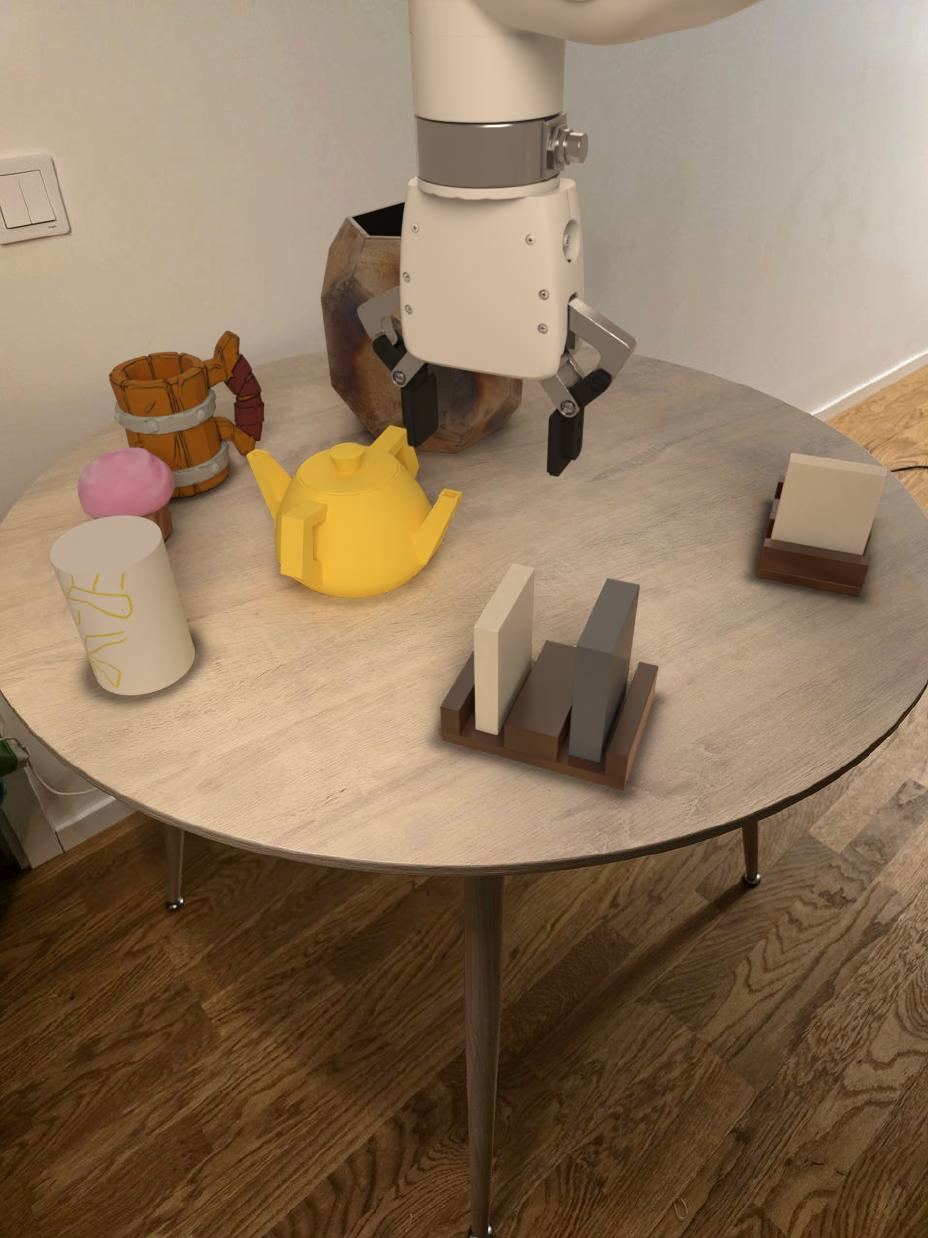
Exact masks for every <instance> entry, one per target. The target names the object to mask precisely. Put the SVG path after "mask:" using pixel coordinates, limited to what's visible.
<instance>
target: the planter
mask: <svg viewBox="0 0 928 1238" xmlns="http://www.w3.org/2000/svg"><path fill="white" fill-rule="evenodd" d="M404 206H405V201H398V202H394V203H392V204H388V205H385V206H381V207H377V208H374V209H371V210H367V211H364V212H360V213H357V214H354V215H350V216H346V217H345V218H344V220H343V222H342V223H341V226H340V227H339V229H338V231H337V233H336V235H335V237H334V238H333V240H332V242H331V244H330V245H329V248H328V251H327V259H326V264H325V269H324V276H323V280H322V281H323V282H322V287H321V293H320V306H321V313H322V321H323V329H324V338H325V346H326V353H327V360H328V370H329V377H330V386H331V387H332V389H333V390H334V391H335V392H336V393H337V395H338V396H339V397H340V398H341V400H342V401H343V402H344V404H346V405H347V407H348V408H349V409H350V410H351V412H352V413H353V414H354V415H355V417H357V419H358V420H359V421H360V423H361V424H362V425H363V426H364V427H365V429H366V430H367V431H368V432H369V433H370V434H371V436H373V438H374V439H375V441H376V440H377V438H378V437H379V436H380V435H381V434H382V433H383V432H384V431H385V430H386V429H387V428H388V427H389V425H392V426H396V427H400V428H404V429H406V427H405V426H404V424H403V417H402V403H401V390H400V387H398V386H396V385H395V384H394V383H393V381H392V379H391V371H390V370H389V369H388V367H387V366H386V365H385V364H384V363H383V362H382V360H381V359H380V358H379V357H378V356H377V355H376V353H375V352H374V350H373V347H372V344H373V341H372V339H371V338H369V336H368V334H367V332H366V330H365V328H364V326H363V324H362V322H361V320H360V318H359V316H358V313H357V309H358V307H359V306H360V305H362V304H363V303H365V302H367V301H368V300H370V299H372V298H374V297H376V296H378V295H380V294H382V293H384V292H386V291H388V290H390V289H392V288H394V287H396V286H398V285H400V248H401V234H402V223H403V214H404ZM390 319H391V322H392V324H393V326H392V327H393V329H394V330H396V331H397V332H398V333H399V334H400V335H401V336H402V337H403V334H402V326H401V313H400V310H398V311H396V312H394V313H392V314H391V315H390ZM428 371H433V372H435V376H436V378H437V398H438V420H439V427H438V430H437V431H436V432H435V433H433V434H432V435H431V436H430V437H429V438H428V439H427V440H426V441H425V442H424V443H422V444H421V445H420V446H418V447H413V448H414V451H419V452H433V453H447V454H457V453H459V452H461V451H463V450H464V449H466V448H468V447H469V446H471V445H474V444H475V443H477V442H478V441H480V440H482V439H484V438H485V437H487V436H490V435H492V434H493V433H494V432H496V431H498V430H500V429H501V428H503V427H504V426H505V425H506V423H507V422H508V421H509V419H510V418H512V416H513V415H514V413H515V412H516V411H517V409H518V408H519V407H520V406H521V404H522V397H523V385H524V379H517V378H510V377H504V376H498V375H492V374H486V373H480V372H474V371H468V370H462V369H457V368H451V367H445V366H440V365H435V364H430V365H429V367H428Z"/></svg>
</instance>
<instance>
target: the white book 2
mask: <svg viewBox="0 0 928 1238" xmlns="http://www.w3.org/2000/svg"><path fill="white" fill-rule="evenodd" d="M888 469H889V467H888V466H883V465H877V464H869V463H862V462H857V461H849V460H843V459H837V458H831V457H824V456H823V457H822V456H817V455H809V454H803V453H797V452H790V455H789V460H788V463H787V468H786V473H785V475H784V476H785V480H784V484H783V489H782V493H781V497H780V501H779V506H778V510H777V514H776V518H775V522H774V527H773V531H772V535H771V539H775V540H780V541H786V542H791V543H797V544H802V545H808V546H814V547H819V548H825V549H830V550H836V551H841V552H847V553H853V554H858V555H863V552H864V549H865V545H866V542H867V539H868V536H869V533H870V530H871V531H872V526H873V523H874V520H875V517H876V514H877V511H878V507H879V505H880V503H881V499H882V495H883V492H884V489H885V486H886V483H887V480H888V472H889V471H888Z"/></svg>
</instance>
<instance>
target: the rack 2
mask: <svg viewBox="0 0 928 1238" xmlns="http://www.w3.org/2000/svg"><path fill="white" fill-rule="evenodd" d="M785 476H786V475H783V474H781V475H780V474H779V475H778V480H777V484H776V488H775V493H774V498H773V501H772V502H773V503H772V506H771V510H770V515H769V519H768V523H767V527H766V533H765V537H764V540H763V541H764V542H763V545H762V549H761V555H760V558H759V562H758V568H757V572H756V578H759V579H765V580H770V581H774V582H779V583H784V584H785V583H786V584H790V585H796V586H799V587H806V588H810V589H815V590H820V591H821V590H822V591H826V592H832V593H837V594H841V595H847V596H852V597H858V598H859V597H860V594H861V592H862V589H863V586H864V582H865V580H866V576H867V573H868V570H869V567H870V556H869V555H866V552H867V549H868V546H869V543H870V540H871V536H872V535H871V534H872V529H871V530H870V533H869V536H868V539H867V542H866V545H865V549H864V552H863V555H858V554H853V553H847V552H841V551H836V550H830V549H825V548H819V547H814V546H808V545H802V544H797V543H791V542H786V541H780V540H775V539H771V535H772V531H773V527H774V522H775V518H776V514H777V510H778V506H779V501H780V497H781V493H782V489H783V484H784V480H785Z"/></svg>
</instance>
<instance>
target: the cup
mask: <svg viewBox="0 0 928 1238" xmlns="http://www.w3.org/2000/svg"><path fill="white" fill-rule="evenodd" d="M49 560H50V563H51V565H52V568H53V571H54V573H55V576H56V578H57V581H58V583H59V586H60V588H61V591H62V593H63V596H64V599H65V601H66V604H67V606H68V609H69V612H70V614H71V617H72V619H73V622H74V625H75V627H76V629H77V632H78V635H79V638H80V640H81V642H82V646H83V648H84V650H85V653H86V655H87V658H88V661H89V663H90V665H91V668H92V671H93V673H94V676H95V679H96V681H97V683H98V684H99V685H100V687H101V688H103V689H104V690H106V691H107V692H110V693H112V694H115V695H120V696H121V695H122V696H140V695H147V694H151V693H154V692H158V691H160V690H163V689H165V688H167V687H170V686H171V685H173V684H174V683H176V682H178V681H179V680H180V679H181V678H183V677H184V676H185V675H186V674H187V673H188V672H189V671H190V669H191V667H192V666H193V664H194V662H195V658H196V650H195V646H194V643H193V638H192V636H191V633H190V629H189V626H188V622H187V618H186V615H185V611H184V607H183V604H182V600H181V597H180V593H179V590H178V587H177V583H176V580H175V576H174V573H173V569H172V565H171V562H170V558H169V555H168V551H167V548H166V544H165V540H163V537H162V533H161V530H160V528H159V527H158V525H157V524H155V523H154V522H153V521H151V520H149V519H146V518H143V517H138V516H128V515H121V516H110V517H104V518H99V519H92V520H88V521H87V522H84V523H81V524H79V525H76V526H75V527H72V528H70V529H69V530H67V531H66V532H64V533H63V534H62V535H61V536H60V537H58V538H57V539H56V540H55V542H54V543H53V544H52V546H51V547H50V550H49Z"/></svg>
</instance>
